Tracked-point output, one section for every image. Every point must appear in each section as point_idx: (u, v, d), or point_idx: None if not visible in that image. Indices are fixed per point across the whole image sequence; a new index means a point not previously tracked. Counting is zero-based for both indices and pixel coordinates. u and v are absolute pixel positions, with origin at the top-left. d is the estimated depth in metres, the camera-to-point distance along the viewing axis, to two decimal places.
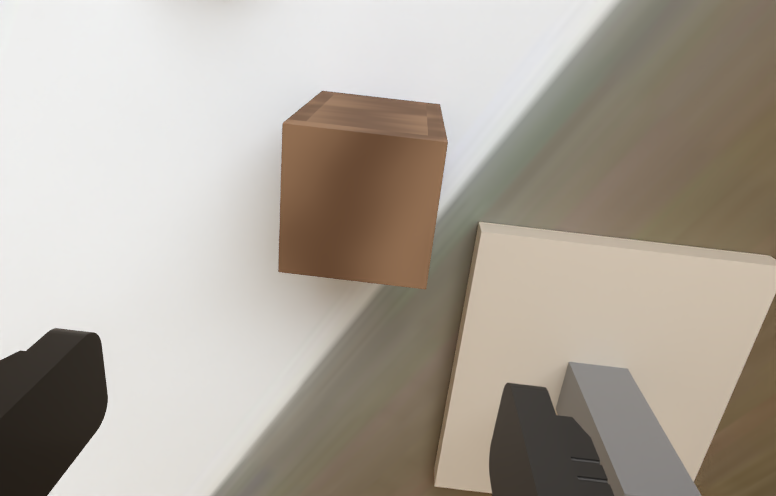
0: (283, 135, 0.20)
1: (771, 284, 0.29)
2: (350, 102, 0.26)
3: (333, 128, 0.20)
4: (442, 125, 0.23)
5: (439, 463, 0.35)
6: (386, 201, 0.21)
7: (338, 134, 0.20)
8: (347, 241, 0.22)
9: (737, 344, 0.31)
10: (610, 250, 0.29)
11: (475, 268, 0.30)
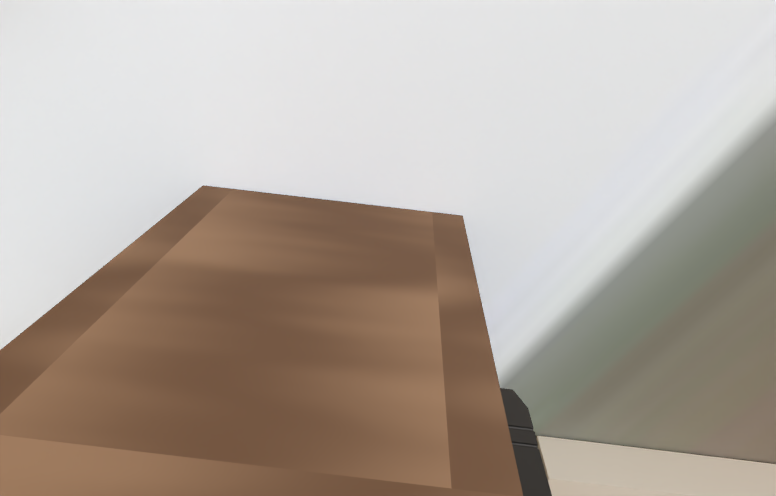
0: None
1: None
2: (246, 236, 0.10)
3: None
4: (488, 357, 0.07)
5: None
6: None
7: None
8: None
9: None
10: None
11: None
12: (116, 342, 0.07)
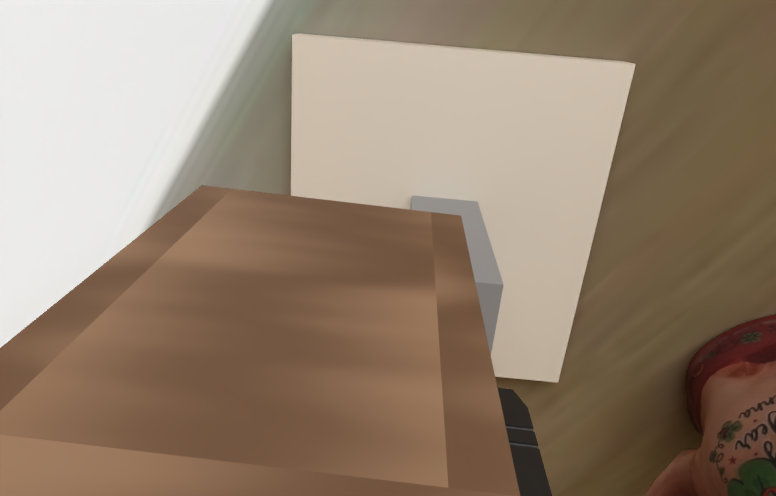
0: None
1: (621, 86, 0.26)
2: (244, 235, 0.10)
3: None
4: (485, 357, 0.07)
5: None
6: None
7: None
8: None
9: (593, 165, 0.28)
10: (437, 51, 0.26)
11: (292, 82, 0.27)
12: (114, 341, 0.07)
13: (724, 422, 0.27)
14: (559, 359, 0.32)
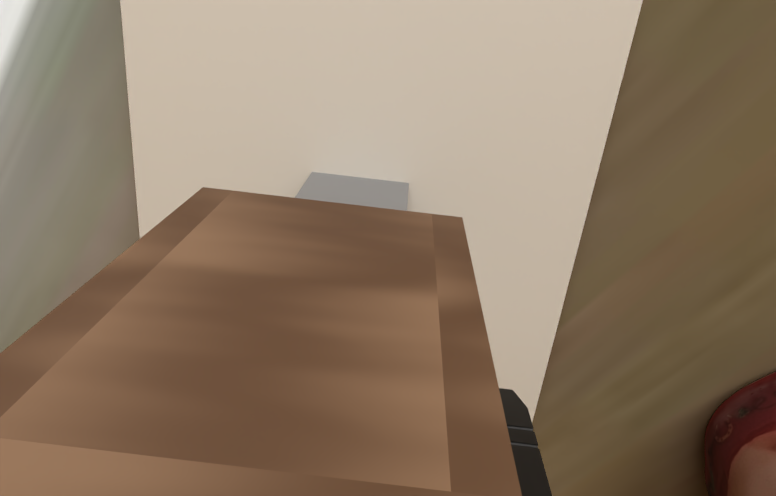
0: None
1: (627, 7, 0.17)
2: (246, 237, 0.10)
3: None
4: (487, 360, 0.07)
5: None
6: None
7: None
8: None
9: (582, 131, 0.18)
10: None
11: None
12: (116, 345, 0.07)
13: None
14: (529, 411, 0.23)
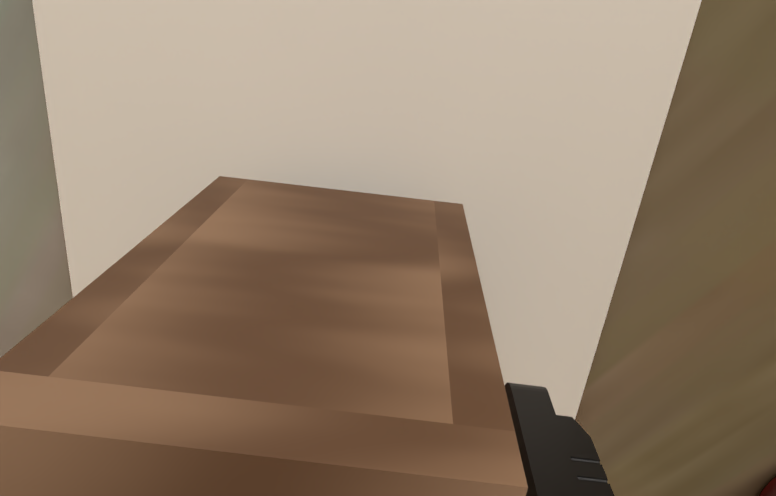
0: None
1: (682, 5, 0.13)
2: (263, 220, 0.11)
3: (118, 429, 0.06)
4: (485, 323, 0.08)
5: None
6: None
7: (134, 453, 0.06)
8: None
9: (619, 162, 0.14)
10: None
11: None
12: (155, 307, 0.08)
13: None
14: None
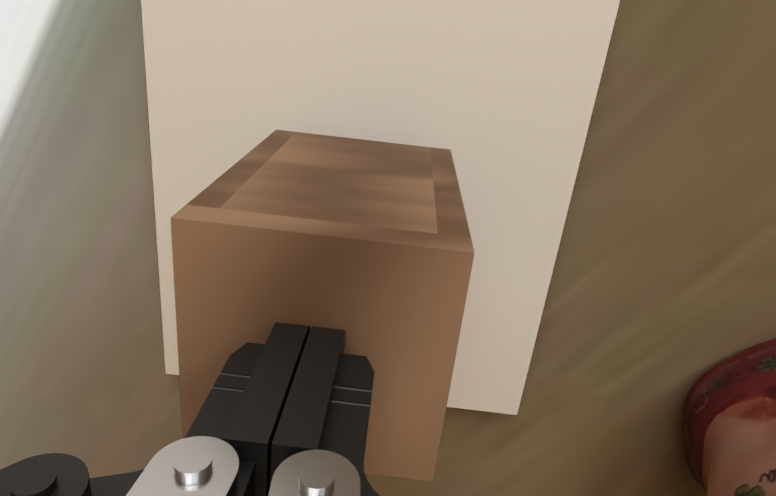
0: (174, 236, 0.11)
1: (606, 7, 0.18)
2: (313, 152, 0.17)
3: (264, 226, 0.11)
4: (459, 201, 0.14)
5: (164, 336, 0.24)
6: (364, 348, 0.12)
7: (273, 237, 0.11)
8: None
9: (565, 122, 0.20)
10: None
11: None
12: (262, 187, 0.13)
13: (737, 485, 0.19)
14: (518, 385, 0.24)
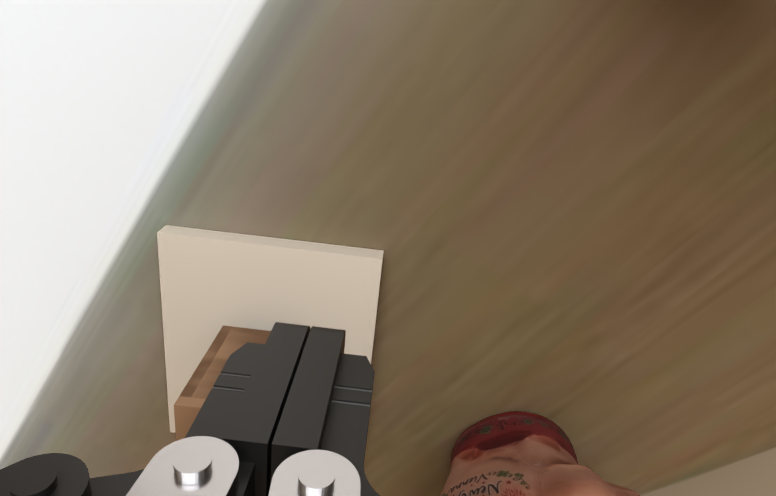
0: (175, 409, 0.32)
1: (375, 271, 0.39)
2: (236, 348, 0.38)
3: None
4: None
5: (169, 413, 0.45)
6: None
7: None
8: None
9: (364, 317, 0.41)
10: (253, 246, 0.39)
11: (159, 260, 0.40)
12: (208, 380, 0.34)
13: (442, 493, 0.40)
14: None
